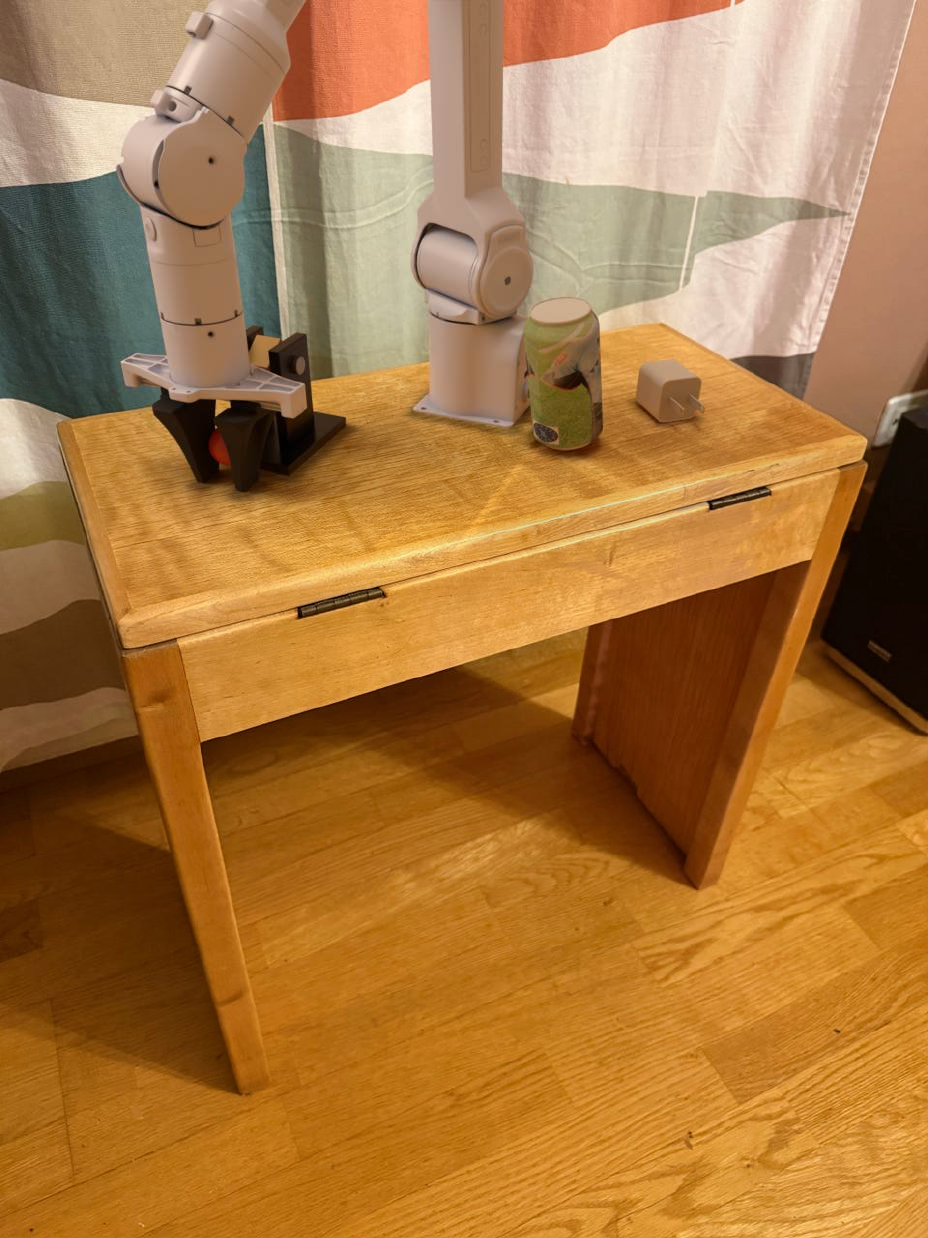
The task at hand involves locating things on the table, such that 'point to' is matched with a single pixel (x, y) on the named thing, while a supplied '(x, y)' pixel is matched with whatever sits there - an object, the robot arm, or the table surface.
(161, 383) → the robot arm
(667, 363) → the usb wall charger
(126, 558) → the table surface
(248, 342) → the switch bracket
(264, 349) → the switch lever
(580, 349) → the beverage can
